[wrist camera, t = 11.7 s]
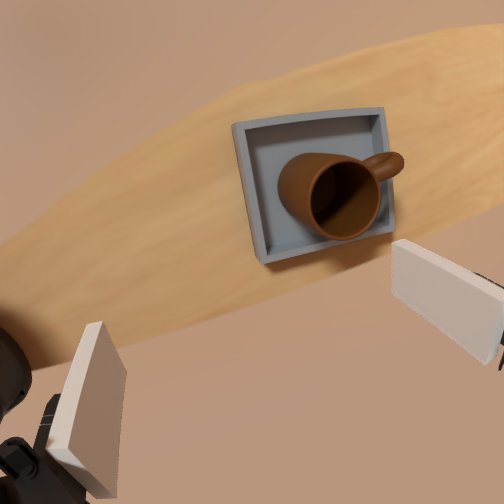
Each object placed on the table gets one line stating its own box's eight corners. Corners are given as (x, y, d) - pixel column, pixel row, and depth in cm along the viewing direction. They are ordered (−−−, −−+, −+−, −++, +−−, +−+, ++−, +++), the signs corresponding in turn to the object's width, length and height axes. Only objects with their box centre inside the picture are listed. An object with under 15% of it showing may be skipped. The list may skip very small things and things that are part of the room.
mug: (350, 123, 33) (399, 121, 25) (376, 180, 36) (425, 193, 27) (262, 173, 33) (289, 183, 25) (294, 231, 36) (328, 259, 27)
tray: (255, 255, 37) (261, 264, 34) (230, 125, 32) (234, 123, 29) (382, 224, 39) (395, 230, 36) (370, 108, 34) (383, 107, 31)
